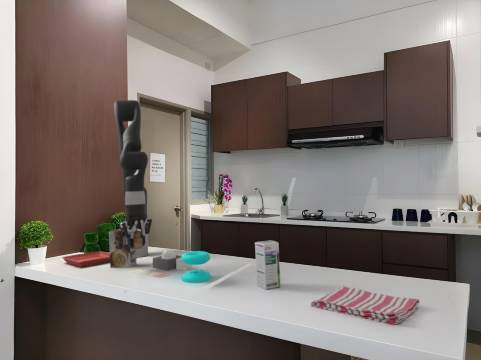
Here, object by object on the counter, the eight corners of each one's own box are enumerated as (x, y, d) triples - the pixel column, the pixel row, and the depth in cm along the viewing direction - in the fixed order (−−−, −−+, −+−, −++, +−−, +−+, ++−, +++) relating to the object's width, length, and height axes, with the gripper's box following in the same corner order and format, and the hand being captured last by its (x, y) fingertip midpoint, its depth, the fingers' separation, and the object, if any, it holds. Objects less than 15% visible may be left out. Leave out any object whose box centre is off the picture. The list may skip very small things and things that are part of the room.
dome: (158, 264, 147) (158, 249, 147) (169, 261, 152) (169, 247, 152) (168, 266, 144) (167, 250, 144) (178, 263, 148) (178, 248, 148)
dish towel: (398, 329, 84) (397, 313, 84) (309, 308, 99) (308, 295, 99) (421, 308, 96) (420, 295, 96) (339, 293, 112) (338, 281, 112)
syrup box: (265, 289, 116) (264, 243, 116) (256, 285, 121) (254, 241, 121) (280, 287, 118) (279, 241, 118) (270, 282, 124) (269, 239, 124)
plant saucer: (100, 257, 180) (100, 250, 180) (118, 262, 167) (118, 254, 167) (61, 264, 167) (61, 256, 167) (78, 269, 154) (78, 261, 154)
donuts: (209, 249, 134) (211, 254, 124) (209, 277, 133) (212, 284, 124) (181, 251, 132) (181, 256, 122) (182, 279, 132) (182, 287, 122)
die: (176, 269, 143) (176, 258, 143) (182, 267, 146) (181, 256, 146) (185, 270, 141) (184, 259, 141) (190, 268, 145) (190, 257, 145)
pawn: (128, 248, 143) (128, 230, 143) (138, 246, 147) (137, 229, 146) (135, 249, 140) (134, 231, 140) (145, 247, 144) (144, 230, 144)
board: (121, 275, 141) (120, 261, 141) (166, 264, 158) (166, 252, 158) (154, 282, 128) (153, 268, 128) (199, 269, 145) (199, 257, 145)
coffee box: (137, 266, 155) (136, 228, 155) (131, 270, 148) (130, 230, 149) (116, 266, 156) (115, 228, 156) (109, 270, 149) (108, 230, 149)
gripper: (144, 201, 151) (145, 242, 151) (113, 204, 140) (115, 249, 140) (156, 201, 146) (157, 244, 147) (124, 204, 135) (126, 251, 135)
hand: (136, 246), depth 143 cm, fingers closed on pawn, 4 cm apart
